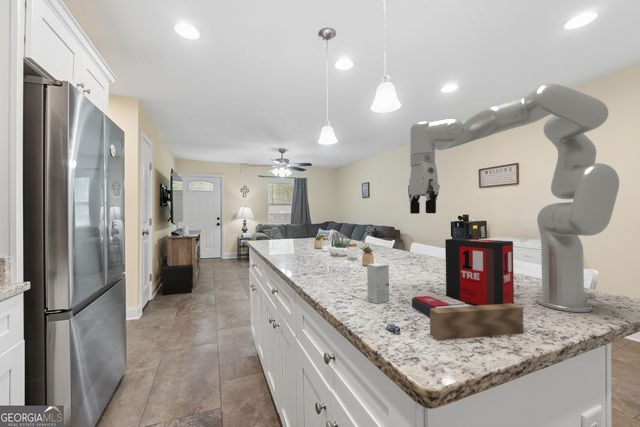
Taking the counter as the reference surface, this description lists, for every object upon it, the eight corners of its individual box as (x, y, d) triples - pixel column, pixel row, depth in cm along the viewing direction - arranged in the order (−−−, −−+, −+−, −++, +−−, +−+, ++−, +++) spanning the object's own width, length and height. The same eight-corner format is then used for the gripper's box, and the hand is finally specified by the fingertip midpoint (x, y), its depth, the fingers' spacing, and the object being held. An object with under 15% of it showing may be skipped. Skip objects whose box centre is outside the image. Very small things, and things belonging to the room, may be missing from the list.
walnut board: (512, 327, 65) (511, 303, 65) (523, 332, 62) (522, 307, 62) (430, 334, 62) (429, 308, 62) (437, 340, 59) (437, 313, 59)
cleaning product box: (446, 299, 88) (445, 239, 89) (458, 294, 94) (458, 238, 94) (502, 313, 75) (501, 243, 75) (513, 306, 80) (512, 241, 81)
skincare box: (376, 304, 83) (376, 266, 83) (366, 300, 87) (366, 264, 87) (390, 300, 86) (389, 264, 87) (379, 297, 90) (379, 262, 90)
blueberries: (401, 326, 69) (400, 318, 69) (417, 337, 61) (416, 328, 61) (376, 328, 68) (376, 320, 68) (389, 339, 60) (389, 331, 60)
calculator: (442, 293, 83) (480, 306, 69) (442, 307, 83) (481, 323, 69) (411, 295, 81) (443, 310, 66) (411, 310, 81) (444, 327, 66)
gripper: (449, 155, 78) (449, 213, 78) (419, 166, 95) (419, 213, 95) (426, 154, 77) (426, 213, 77) (399, 165, 94) (399, 213, 94)
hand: (422, 213), depth 86 cm, fingers open, 9 cm apart
